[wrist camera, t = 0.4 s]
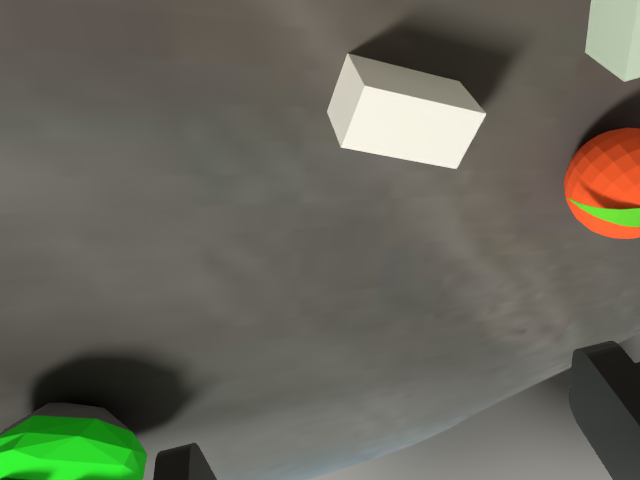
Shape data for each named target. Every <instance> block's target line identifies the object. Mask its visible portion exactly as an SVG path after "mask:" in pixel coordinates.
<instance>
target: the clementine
mask: <svg viewBox="0 0 640 480" xmlns="http://www.w3.org/2000/svg"><path fill="white" fill-rule="evenodd" d="M564 188H565V196H566V201H567V203H568V205H569V207H570V209H571V211H572V213H573V214H574V216H575V218H577V219H578V220H579V221H580V222H581V223H582V224H584V225H585V226H586V227H587V228H589V229H590V230H591V231H594V232H596V233H598V234H601V235H604V236H607V237H610V238H622V239H632V238H638V237H640V129H639V128H622V129H617V130H612V131H607V132H605V133H602V134H600V135H597V136H596V137H594V138H593V139H591V140H589V141H588V142H587V143H586V144H584V145H583V146H582V147H581V148H580V149H579V150H578V151H577V153H576V154H575V155H574V156H573V158H572V160H571V162H570V163H569V166H568V169H567V172H566V176H565V180H564Z"/></svg>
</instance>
